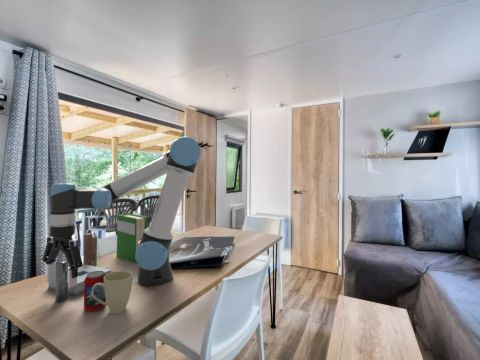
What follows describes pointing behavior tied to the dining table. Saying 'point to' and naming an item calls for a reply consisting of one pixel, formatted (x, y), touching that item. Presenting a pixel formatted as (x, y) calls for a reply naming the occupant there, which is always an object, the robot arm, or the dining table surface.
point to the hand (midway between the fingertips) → (61, 283)
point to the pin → (61, 281)
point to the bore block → (80, 279)
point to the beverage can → (99, 292)
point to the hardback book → (129, 235)
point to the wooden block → (90, 250)
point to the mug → (116, 290)
